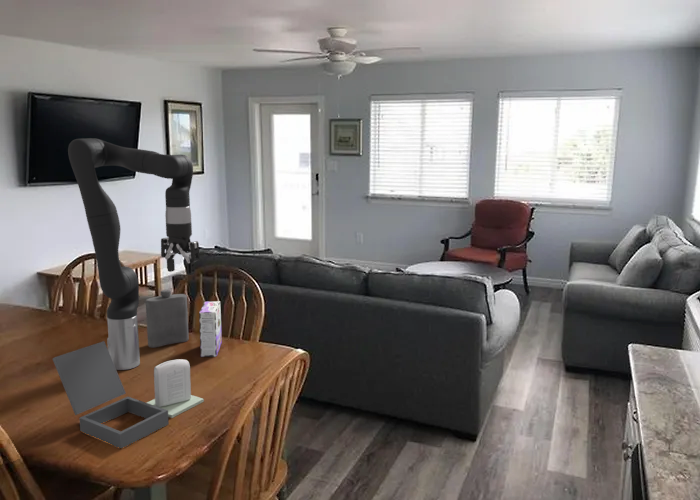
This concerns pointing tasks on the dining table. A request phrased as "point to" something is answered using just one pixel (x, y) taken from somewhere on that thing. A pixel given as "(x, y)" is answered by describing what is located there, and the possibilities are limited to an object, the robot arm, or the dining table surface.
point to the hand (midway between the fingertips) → (180, 272)
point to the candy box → (210, 329)
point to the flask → (167, 319)
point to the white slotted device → (172, 382)
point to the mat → (180, 406)
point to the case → (120, 439)
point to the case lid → (89, 377)
